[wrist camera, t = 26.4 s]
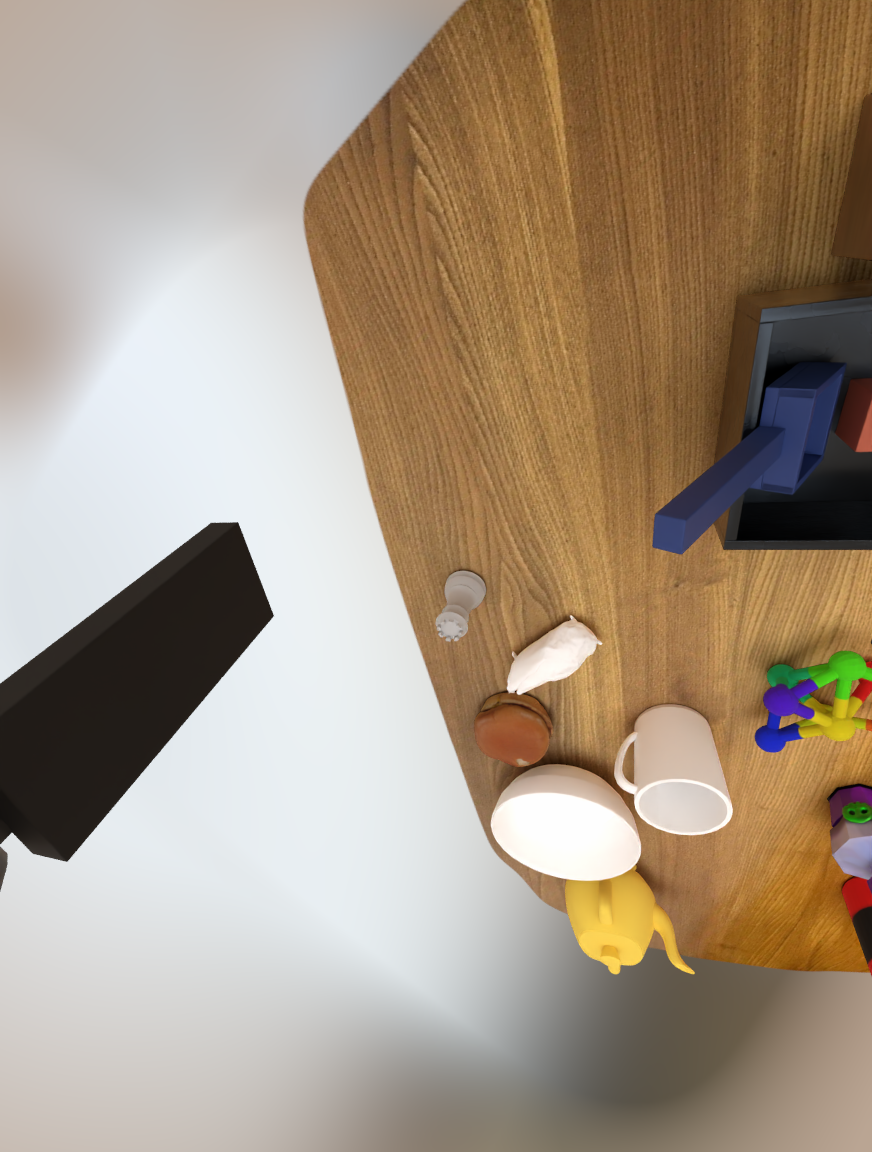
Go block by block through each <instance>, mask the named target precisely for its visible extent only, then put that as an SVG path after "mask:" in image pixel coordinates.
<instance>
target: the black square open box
mask: <svg viewBox="0 0 872 1152" xmlns="http://www.w3.org/2000/svg"><path fill="white" fill-rule="evenodd" d="M800 362H812V363H813V362H840V363H847V365H846V369H845V373H844V377H843V381H842V385H841V389H840V393H839V397H838V401H837V405H836V409H835V413H834V417H833V421H832V425H831V429H830V433H829V437H828V441H827V445H826V449H825V453H824V457H823V460H822V461H821V462H820V464H819V465H818V466H817V467H816V468H815V469H814V471H813V472H812V473H811V474H810V475H809V476H808V477H807V479H806V480H805V481H804V482H803V483H802V484H801V486H800V487H799V488H798V489H797V490H796V491H795V493H794V494H793V495H791V494H785V493H779V492H772V491H766V490H761V489H753V488H748V489H747V490H746V491H745V492H744V493H743V494H742V495H741V496H740V497H739V498H738V499H737V500H736V501H735V502H734V503H733V504H732V505H731V506H730V507H729V508H728V509H727V510H726V511H725V512H724V513H723V514H722V515H721V516H720V517H719V518H718V519H717V520H716V521H715V522H714V525H715V528H716V531H717V533H718V536H719V539H720V541H721V544H722V547H723V549H724V550H872V452H855V451H854V450H853V449H852V448H850V447H849V446H848V445H847V444H846V443H845V442H844V441H843V440H842V439H840V438H839V437H838V436H837V435H836V434H835V433H836V429H837V426H838V422H839V419H840V415H841V412H842V408H843V405H844V401H845V398H846V395H847V391H848V388H849V384H850V381H851V379H863V378H872V279H865V280H857V281H849V282H841V283H833V284H825V285H817V286H809V287H802V288H794V289H786V290H778V291H770V292H762V293H754V294H746V295H738V296H737V300H736V307H735V314H734V322H733V329H732V336H731V344H730V351H729V358H728V366H727V373H726V380H725V388H724V395H723V402H722V410H721V417H720V424H719V432H718V439H717V446H716V454H715V461H714V464H715V463H716V462H717V461H719V460H720V459H721V458H722V457H723V456H725V455H726V454H727V453H728V452H729V451H730V450H732V449H733V448H734V447H735V446H736V445H738V444H739V443H740V442H741V441H742V440H744V439H745V438H746V437H747V436H748V435H749V434H751V433H752V432H753V431H754V430H755V429H757V428H758V427H759V425H760V419H761V413H762V408H763V402H764V396H765V391H766V387H768V386H769V385H770V384H772V383H773V382H774V381H776V380H777V379H778V378H780V377H781V376H782V375H784V374H785V373H786V372H788V371H789V370H790V369H792V368H793V367H794V366H796V365H797V364H798V363H800Z"/></svg>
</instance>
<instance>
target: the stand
mask: <svg viewBox="0 0 872 1152" xmlns="http://www.w3.org/2000/svg"><path fill="white" fill-rule="evenodd" d="M831 255H833V256H841V257H848V258H856V259H863V260H871V261H872V93H871V94H869V95H867V96H865V98H864V103H863V108H862V112H861V117H860V122H859V126H858V131H857V136H856V141H855V145H854V150H853V155H852V159H851V164H850V169H849V173H848V178H847V183H846V188H845V192H844V197H843V202H842V206H841V211H840V216H839V221H838V225H837V230H836V235H835V239H834V244H833V249H832V254H831Z"/></svg>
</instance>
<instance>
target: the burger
mask: <svg viewBox="0 0 872 1152" xmlns="http://www.w3.org/2000/svg"><path fill="white" fill-rule="evenodd" d="M553 731H554V730H553V727H552V723H551V720H550V718H549V716H548V715H547V712H546V710H545V709H544V708H543V706H542V705H540V704H539V702H538V701H537V700H536V699H535V698H533V697H530V696H528V695H523V694H521V695H518V694H517V693H516V692H514V693H509V692H507V693H500V694H496V695H494V696H491V697H490V698H488V699H487V700H486V702H485V704H484V705H483V707H482V709H481V711H480V713H479V714H478V715H477V716H476V718H475V720H474V732H475V739H476V742H477V745H478V746H479V748H480V750H481V751H482V752H483V753H484V754H486V755H487V756H489V757H491V758H494V759H499V760H501V761H503V762H505V763H507V764H510V765H512V766H516V767H523V766H528V765H531V764H534V763H536V762H537V761H539V760H540V759H541V758H542V757H543V756H544V754H545V753H546V751H547V749H548V746H549V743H550V740H549V739H550V737H552V733H553Z"/></svg>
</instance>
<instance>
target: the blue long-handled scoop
mask: <svg viewBox="0 0 872 1152" xmlns="http://www.w3.org/2000/svg"><path fill="white" fill-rule="evenodd" d="M846 365H847V363H840V362H813V363H812V362H800V363H798V364H797V365H796V366H794V367H793V368H792V369H790V370H789V371H788V372H786V373H785V374H784V375H782V376H781V377H780V378H778V379H777V380H776V381H774V382H773V383H772V384H770V385H769V386H768V387H766V391H765V396H764V402H763V408H762V413H761V419H760V425H759V427H758V428H757V429H755V430H754V431H753V432H752V433H751V434H749V435H748V436H747V437H746V438H745V439H744V440H742V441H741V442H740V443H739V444H738V445H736V446H735V447H734V448H733V449H732V450H730V451H729V452H728V453H727V454H726V455H725V456H723V457H722V458H721V459H720V460H719V461H717V462H716V463H715V464H714V465H713V466H712V467H710V468H709V469H708V470H707V471H706V472H704V473H703V474H702V475H701V476H700V477H699V478H697V479H696V480H695V481H694V482H693V483H691V484H690V485H689V486H688V487H687V488H686V489H684V490H683V491H682V492H681V493H680V494H678V495H677V496H676V497H675V498H674V499H672V500H671V501H670V502H669V503H668V504H667V505H665V506H664V507H663V508H662V509H661V510H659V511H658V512H657V513H656V514H655V521H654V533H653V545H652V546H653V547H654V548H657V549H661V550H665V551H669V552H673V553H677V554H683V553H684V552H685V551H686V550H687V549H688V548H689V547H690V546H691V545H692V544H693V543H694V542H695V541H696V540H697V539H698V538H699V537H700V536H701V535H702V534H703V533H704V532H705V531H706V530H707V529H708V528H709V527H710V526H711V525H712V524H713V523H714V522H715V521H716V520H717V519H718V518H719V517H720V516H721V515H722V514H723V513H724V512H725V511H726V510H727V509H728V508H729V507H730V506H731V505H732V504H733V503H734V502H735V501H736V500H737V499H738V498H739V497H740V496H741V495H742V494H743V493H744V492H745V491H746V490H747V489H748V488H753V489H761V490H766V491H772V492H779V493H785V494H791V495H793V494H794V493H795V491H796V490H797V489H798V488H799V487H800V486H801V484H802V483H803V482H804V481H805V480H806V479H807V477H808V476H809V475H810V474H811V473H812V472H813V471H814V469H815V468H816V467H817V466H818V465H819V464H820V462H821V461H822V460H823V457H824V453H825V449H826V445H827V441H828V437H829V433H830V429H831V425H832V421H833V417H834V413H835V409H836V405H837V401H838V397H839V393H840V389H841V385H842V381H843V377H844V373H845V369H846Z"/></svg>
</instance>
